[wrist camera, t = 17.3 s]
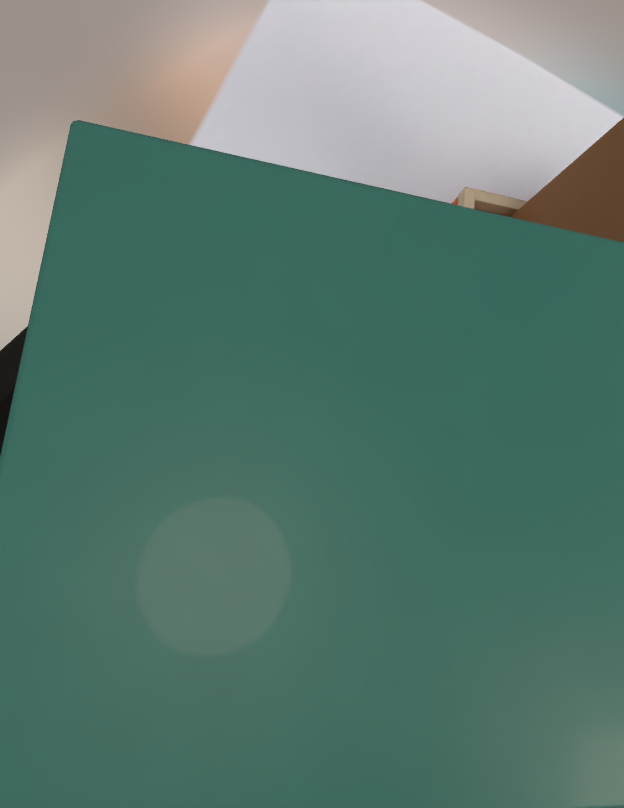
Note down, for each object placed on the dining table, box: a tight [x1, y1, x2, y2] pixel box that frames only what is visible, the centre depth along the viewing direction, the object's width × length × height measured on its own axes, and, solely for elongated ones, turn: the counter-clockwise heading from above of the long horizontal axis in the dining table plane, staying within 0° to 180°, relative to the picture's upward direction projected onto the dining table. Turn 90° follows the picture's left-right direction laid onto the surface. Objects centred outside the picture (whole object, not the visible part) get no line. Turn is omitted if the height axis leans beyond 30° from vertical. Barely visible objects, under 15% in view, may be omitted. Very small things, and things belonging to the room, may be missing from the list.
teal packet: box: [0, 120, 624, 808], centre depth 11 cm, size 6×5×16 cm
